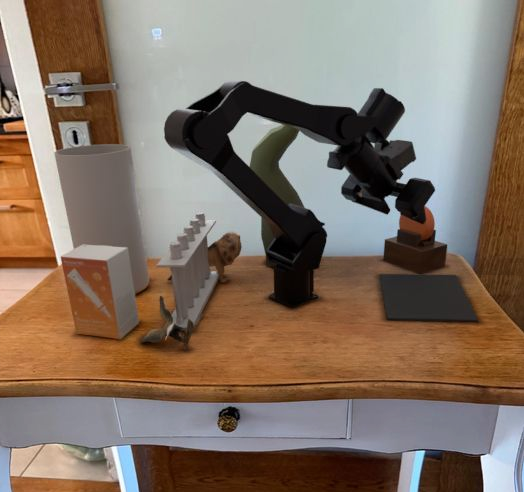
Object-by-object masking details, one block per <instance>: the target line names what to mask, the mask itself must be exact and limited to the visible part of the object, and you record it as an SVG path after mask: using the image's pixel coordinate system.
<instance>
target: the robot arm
mask: <svg viewBox="0 0 524 492" xmlns="http://www.w3.org/2000/svg"><path fill="white" fill-rule="evenodd" d="M366 99H367V100H366V101H365V102H364V104H363V105H362V107H361V108H360V109H359V111H356V109H354V108H353V107H351V106H338V105H328V104H327V105H326V104H325V105H324V104H312V103H309V102H305V101H303V100H300V99H296V98H294V97H290V96H287V95H284V94H281V93H278V92H275V91H271V90H268V89H265V88H261V87H258V86H256V85H253V84H252V83H250V82H249V81H246V80H227V81H225V82H224V83H222V84H221V85H220V86H218V87H217V88H216V89H215V90H213V91H212V92H209V94H206V95H204V97H201V98H199V99H197V100H196V101H194V102H193V103H191V104H190V105H188V106H186V108H177V109H175V110H173V111H171V112H170V114H169V115H168V116H167V117H166V119H165V122H164V126H163V133H164V140H165V142H166V144H167V145H168V146H169V147H170V148H171V149H172V150H173V151H175V152H177V153H179V154H180V155H182V156H184V157H185V158H187V159H189V160H190V161H192V162H194V163H196V164H198V165H200V166H201V167H203V168H205V169H207V170H209V171H211V172H212V174H214V175H215V176H216V177H217V178H218V179H219V180H220V181H221V182H223V184H224V185H226V186H227V187H228V188H229V189H230V190H231V191H232V192H233V193H234V194H236V196H237V197H239V198H240V199H241V200H242V201H243V202H244V203H245V204H247V206H248V207H250V208H251V209H252V210H253V211H254V212H255V213H256V214H257V215H258V216H259V217H260V218H261V217H262V218H263V219H264V220H265V221H266V222H267V223H268V224H269V226H270V229H271V232H272V235H273V236H274V237H275V238H274V240H273V241H272V243H271V244H270V245H269V247H268V248H267V250H266V254H265V256H266V255H267V258H268V261H270V262H273V263H275V264H277V265H276V266H274V267H273V293H269V294H268V298H269V299H270V300H273V301H274V302H278V303H279V304H282V305H284V306H286V307H288V308H296V307H298V306H301V305H304V304H307V303H309V302H312V301H315V300H317V299H319V294H317V293H314V291H315V290H314V289H315V285H314V283H315V270H318V269H319V268H320V265H321V261H322V258H323V255H324V252H325V248H326V244H327V238H328V232H327V230H326V229H325V228H324V226H325V225H326V223H325V222H324V221H323V222H322V221H320V220H319V219H318V218H317V216H316V215H315V213H314V212H313V211H312V210H311V209H309V208H308V207H305V208H303V207H300V206H297V205H294V204H290V203H289V205H287V204H286V203H285V202H284V201H283V200H282V199H281V198H280V197H279V196H278V195H277V194H276V193H275V192H274V191H273V190H272V189H271V188H270V187H269V186H268V185H267V184H266V183H265V182H264V181H263V180H262V179H261V178H260V177H259V176H258V175H257V174H256V173H255V172H254V171H253V170H252V169H251V168H250V165H248V163H246V162H245V161H244V160H243V159H242V158H241V157H240V156H239V155H238V154H237V152H236V151H235V150H234V146H233V144H232V141H231V138H230V136H229V134H230V133H232V131H234V129H235V128H236V126H237V125H238V123H239V122H240V121H241V119H242V118H243V116H245V115H247V116H251V117H255V118H258V119H262V120H266V121H269V122H273V123H275V124H280V125H282V124H283V125H287V126H290V127H294V128H296V129H298V130H299V132H300V133H301V134H302V135H304V136H306V137H308V138H309V139H311V140H314V142H317V143H319V144H326V145H332V146H336V147H335V148H334V150H332V151H329V152H328V159H327V162H326V167H327V168H328V169H333V170H337V171H342V170H343V169H345V170H346V172H348V177H347V178H346V179H345V180H344V182H343V183H342V185H341V187H340V188H341V189H340V193H341V195H342V196H343V198H345V200H348V201H351V202H352V203H355V204H358V205H359V206H363V207H366V208H369V209H371V210H374V211H376V212H379V213H380V214H381V213H382V214H384V215H389V214H390V212H391V208H390V206H389V204H388V202H387V201H386V198H387V197H389V196H391V197H395V201H394V208H395V209H396V211H397V212H399V215H402V216H404V217H407V218H409V219H411V220H413V221H416V222H418V223H420V224H424V223H425V221H426V213H425V206H427V203H428V202H429V201H430V199H431V197H432V196H433V195H434V193H435V192H436V187H435V186H434V184H433V183H432V181H431V180H429V179H424V178H419V177H411V178H409V179H408V180H407V182H406V183H402V182H398V180H401V179H402V177H403V175H404V172H403V171H402V170H404V169H405V168H407V167H408V166H409V165H410V164H411V163H414V162H415V161H416V160H417V156H416V151H415V147H414V143H413V142H412V141H410V140H402V139H395V140H392V139H391V140H388V138H389V136H390V135H391V133H392V132H393V130H394V129H395V127H396V126H397V124H398V123H399V122H400V120H401V119H402V118H403V116H404V114H405V113H406V108H405V106H404V103H402V101H401V100H398V99H397V98H396V97H395V96H394V95H392V94H390V93H388V92H386V91H385V89H384V88H383V87H374V88H373V89H372V90H371V91H370V93H369V96H368V97H367V98H366ZM373 144H374V145H373ZM293 253H295V254H297V256H296V255H294V254H293Z"/></svg>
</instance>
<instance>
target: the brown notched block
mask: <svg viewBox="0 0 524 492" xmlns="http://www.w3.org/2000/svg"><path fill="white" fill-rule="evenodd" d="M436 234H437V229H434V231H433V233H432V235H431V237H430V238H428V239H427V240H425V241H421V242H420V237H421V234H419V233H415V232H412V231H409V230H405V229H400V228H398V229H397V232H396V236H393V237H389V238H385V239H384V245H383V260H382V261H383V262H386V263H389V264H391V265H393V266H397V267H400V268H403V269H406V270H408V271H410V272H411V271H412V272H413V273H415V274H419V275H422V274H424V273H427V272H431V271H433V270H438V269H440V268H444V267H446V260H447V253H448V243H445V242H442V241H437V240H436Z"/></svg>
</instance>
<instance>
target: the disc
mask: <svg viewBox="0 0 524 492" xmlns="http://www.w3.org/2000/svg"><path fill="white" fill-rule="evenodd" d="M425 213H426V221H425V223H424V224H420V223H418V222H416V221H413V220H411V219H409V218H407V217H404V216H402V215H400V214H399V215H400V216H399V220H398V229H405V230H409V231H412V232H415V233H419V234H421V237H420V242H421V241H425V240H427V239H428V238H430V237H431V235H432V233H433V231H434V230H435V225H436V223H435V216H434V215H433V212H432V210H430V208H429V207H428V206H427V205H425Z"/></svg>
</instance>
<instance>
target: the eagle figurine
mask: <svg viewBox="0 0 524 492" xmlns="http://www.w3.org/2000/svg"><path fill="white" fill-rule="evenodd" d="M159 314H160V316H161V318H162V320H163V321H164V323H165V325H166V326H165V325H164V327H161V328H154V329H151V330H150V331H149V332H147V334H146V335H144V336H142V339H141V341H140V343H146V342H151V343H153V344H154V343H159V342H160V341H162V340H163V339H164V338H165V339H164V341H165V342H166V341H167V340H168V338H169V337H170V338H173V339H174V340H175V341H178V342H180V343H183V345H182V346H183V348H184V350H185V351H188V350H189V349H188V346H189V342H190V340H191V337H192V335H193V333H194V331H195V330H196V329H197V327H198V326H199V325H200V323H201V322H202V320H203V317H204V315H203V314H201V315H200V317H199V319H198V320H197V321H196V323H195V324H194V325H193V322H192V321H191V320H190V319H188V323H187V328H183V327H180V326H177V325H176V324H174V322H173V317H172V313H171V310H170V309H167V308H166V304H165V298H164V297H163V296H162V295H160V296H159ZM182 335H183V336H182Z"/></svg>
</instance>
